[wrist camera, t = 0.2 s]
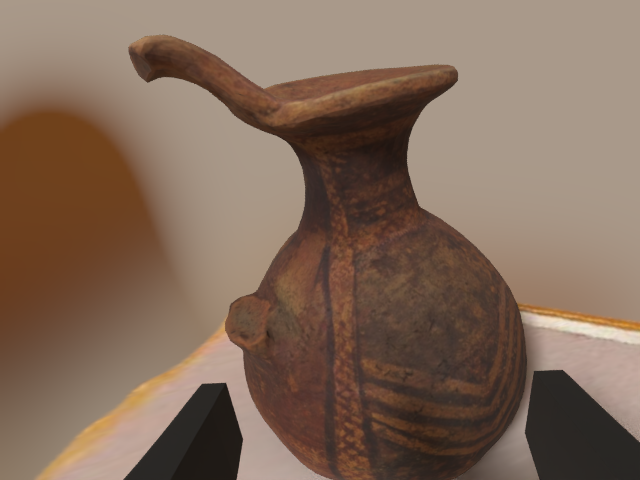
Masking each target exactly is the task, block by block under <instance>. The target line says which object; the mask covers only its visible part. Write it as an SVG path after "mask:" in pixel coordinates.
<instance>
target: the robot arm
mask: <svg viewBox="0 0 640 480" xmlns="http://www.w3.org/2000/svg"><path fill="white" fill-rule="evenodd" d="M525 434H526V438H527V441H528V444H529V448H530V451H531V454H532V457H533V461H534V464H535V467H536V470H537V473H538V476H539V479H540V480H640V442H639V441H638V440H637V439H636V438H634V437H633V436H632V435H631V434H630V433H629V432H628V431H627V430H626V429H625V428H623V427H622V426H621V425H620V424H619V423H618V422H617V421H616V420H615V419H614V418H613V417H612V416H611V415H610V414H609V413H607V412H606V411H605V410H604V409H603V408H602V407H601V406H600V405H599V404H598V403H597V402H596V401H595V400H594V399H593V398H592V397H591V396H590V395H589V394H588V393H586V392H585V391H584V390H583V389H582V388H581V387H580V386H579V385H578V384H577V383H576V382H575V381H574V380H573V379H572V378H571V377H570V376H569V375H568V374H567V373H565V372H564V371H563V370H549V371H534V375H533V382H532V388H531V395H530V402H529V409H528V415H527V422H526V429H525ZM242 442H243V438H242V434H241V431H240V428H239V424H238V421H237V418H236V415H235V411H234V408H233V405H232V401H231V398H230V395H229V391H228V388H227V385H226V383H212V384H202V385H201V386H200V387H199V388H198V389H197V391H196V392H195V393H194V394H193V395H192V397H191V398H190V399H189V401H188V402H187V403H186V404H185V406H184V407H183V408H182V409H181V411H180V412H179V413H178V415H177V416H176V417H175V418H174V420H173V421H172V422H171V423H170V425H169V426H168V427H167V428H166V430H165V431H164V432H163V433H162V435H161V436H160V437H159V438H158V439H157V441H156V442H155V443H154V444H153V445H152V447H151V448H150V449H149V450H148V452H147V453H146V454H145V455H144V456H143V458H142V459H141V460H140V461H139V462H138V464H137V465H136V466H135V467H134V468H133V469H132V471H131V472H130V473H129V474H128V475H127V476H126V477H125V478H124V479H123V480H237V474H238V468H239V462H240V455H241V449H242Z"/></svg>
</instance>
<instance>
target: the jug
mask: <svg viewBox="0 0 640 480" xmlns="http://www.w3.org/2000/svg"><path fill="white" fill-rule="evenodd" d="M129 54H130V58H131V61H132V63H133V65H134V68H135V69H136V71H137V73H138V75H139V76H140V77H141V78H142V79H144V80H145V81H146V82H150V81H153V80H155V79H157V78H161V77H174V78H179V79H183V80H186V81H189V82H192V83H194V84H197V85H199V86H201V87H202V88H204V89H206V90H208V91H209V92H210V93H212V94H213V95H214V96H215V97H217V98H218V99H219V100H220V101H221V102H223V103H224V104H225V105H226V106H227V107H228V108H229V109H230V111H231V112H232V113H233V114H234V115H235V116H236V117H237V118H239V119H241V120H242V121H244V122H245V123H247V124H249V125H251V126H253V127H255V128H257V129H260V130H262V131H264V132H267V133H270V134H273V135H276V136H278V137H280V138H282V139H283V140H285V141H286V142H287V143H289V144H290V145H291V147H292V148H293V150H294V152H295V153H296V155H297V156H298V158H299V161H300V164H301V166H302V169H303V174H304V181H305V207H304V211H303V216H302V219H301V221H300V224H299V227H298V230H297V231H296V232H295V233H293V235H291V236H290V237H289V238H288V240H287V241H286V242H285V243H284V245H283V246H282V247H281V249H280V250H279V252H278V253H277V255H276V256H275V258H274V259H273V261H272V263H271V265H270V267H269V269H268V271H267V272H266V275H265V276H264V278H263V280H262V282H261V284H260V286H259V288H258V290H257V291H256V292H255V293H253V294H250V295H246V296H243V297H240V298H238V299H237V300H235V301H234V302H233V303H231V305H230V309H229V314H228V317H227V319H226V322H225V331H226V332H227V334H228V337H229V339H230V341H231V342H233V343H234V344H236V345H237V346H238V347H240V348H241V349H242V350H243V359H244V369H245V375H246V381H247V384H248V388H249V392H250V394H251V397H252V399H253V401H254V403H255V405H256V407H257V409H258V411H259V412H260V414H261V416H262V417H263V419H264V420H265V422H266V423H267V424H268V425H269V427H270V428H271V429H272V430H273V432H274V433H275V434H276V435H277V437H278V438H279V439H280V440H281V442H282V443H283V444H284V445H285V446H286V447H287V448H288V449H289V451H290V452H291V453H292V454H293V455H294V456H295V457H296V458H297V459H298V460H299V461H300V462H301V463H303V464H304V465H305V466H306V467H308V468H309V469H311V470H312V471H314V472H315V473H317V474H319V475H321V476H324V477H326V478H329V479H333V480H451V479H454V478H456V477H457V476H459V475H461V474H463V473H464V472H466V471H467V470H468V469H469V468H471V467H472V466H473V465H474V464H475V463H477V462H478V461H479V460H480V458H481V457H482V456H483V455H484V454H485V453H486V452H487V451H488V450H489V449H490V448H491V447H492V446H493V445H494V444H495V443H496V442H497V440H498V439H499V438H500V437H501V436H502V435H503V433H504V432H505V431H506V429H507V428H508V426H509V425H510V424H511V422H512V420H513V418H514V416H515V414H516V412H517V410H518V407H519V405H520V402H521V399H522V395H523V392H524V386H525V379H526V366H527V359H526V348H525V338H524V330H523V325H522V320H521V315H520V312H519V309H518V305H517V303H516V301H515V299H514V297H513V295H512V292H511V290H510V288H509V287H508V285H507V284H506V282H505V281H504V279H503V278H502V276H501V275H500V274H499V272H498V271H497V270H496V269H495V267H494V266H493V265H492V264H491V262H490V261H489V260H488V259H487V258H486V257H485V256H484V255H483V254H482V253H481V252H480V251H479V250H478V249H477V247H475V246H474V245H473V244H472V243H471V242H470V241H469V240H467V239H466V238H465V237H464V236H463V235H462V234H460V233H459V232H458V231H457V230H455V229H454V228H453V227H451V226H450V225H448V224H447V223H446V222H444V221H443V220H441V219H440V218H438V217H436V216H435V215H433V214H431V213H429V212H428V211H426V210H424V209H422V208H421V207H420V206H419V205H418V202H417V199H416V196H415V193H414V191H413V187H412V184H411V180H410V176H409V173H408V166H407V150H408V142H409V137H410V134H411V131H412V127H413V126H414V124H415V122H416V120H417V118H418V117H419V115H420V113H421V112H422V110H423V109H424V108H425V106H426V105H427V104H428V103H430V102H431V101H432V100H434V99H435V98H437V97H438V96H440V95H441V94H443V93H444V92H446V91H447V90H448V89H450V88H451V87H452V86H453V85H454V84H455V83H456V82H457V81H458V72H457V70H456V69H455V68H454V67H453V66H450V65H425V66H414V67H401V68H387V69H373V70H363V71H355V72H347V73H340V74H333V75H326V76H319V77H314V78H308V79H303V80H296V81H291V82H286V83H281V84H277V85H273V86H271V87H268V88H266V89H263V88H261V87H259V86H258V85H256V84H254V83H253V82H251V81H250V80H248V79H247V78H246V77H244V76H243V75H241V74H240V73H239V72H237V71H236V70H235V69H233V68H232V67H231V66H229V65H228V64H227V63H225V62H224V61H223V60H221V59H220V58H218V57H217V56H215V55H213V54H211V53H210V52H208V51H206V50H204V49H202V48H200V47H198V46H196V45H194V44H191V43H189V42H186V41H183V40H180V39H178V38H175V37H172V36H168V35H156V36H145V37H143V38H141V39H139V40H138V41H136V42H134V43H132V44H131V45H130V46H129Z"/></svg>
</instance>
